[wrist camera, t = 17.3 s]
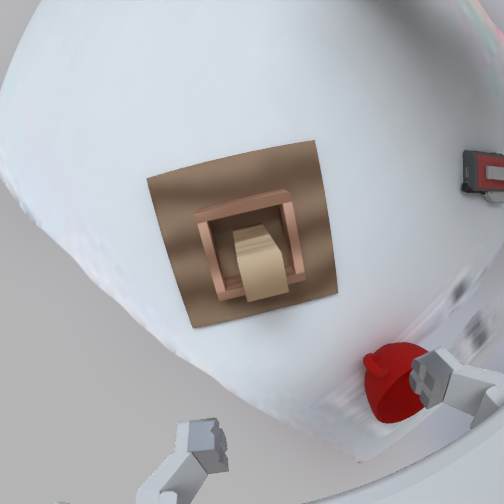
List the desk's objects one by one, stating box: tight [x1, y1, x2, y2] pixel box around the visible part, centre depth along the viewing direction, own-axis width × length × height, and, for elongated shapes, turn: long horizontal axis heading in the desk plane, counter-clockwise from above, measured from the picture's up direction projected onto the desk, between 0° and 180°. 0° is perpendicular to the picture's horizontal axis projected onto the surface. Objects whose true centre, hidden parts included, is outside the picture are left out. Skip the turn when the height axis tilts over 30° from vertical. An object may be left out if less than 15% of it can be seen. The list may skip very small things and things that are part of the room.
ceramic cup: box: [363, 342, 428, 423], centre depth 39 cm, size 13×17×10 cm
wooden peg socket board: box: [147, 140, 338, 328], centre depth 33 cm, size 20×20×5 cm
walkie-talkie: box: [462, 150, 504, 203], centre depth 35 cm, size 9×4×20 cm
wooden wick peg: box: [232, 222, 289, 302], centre depth 29 cm, size 4×4×12 cm
